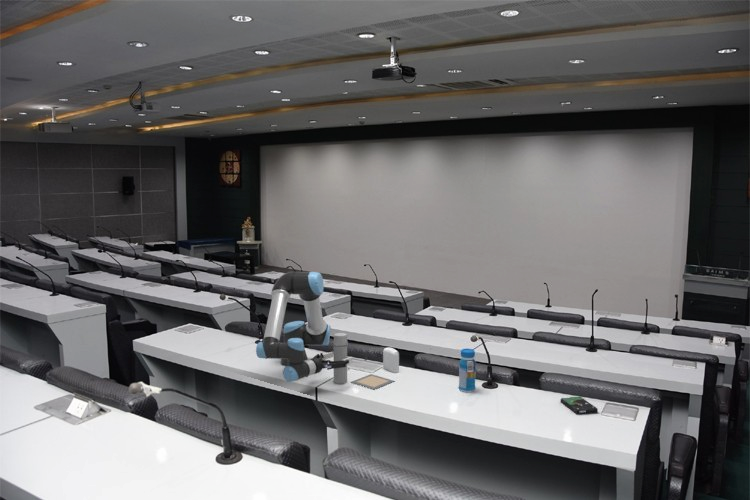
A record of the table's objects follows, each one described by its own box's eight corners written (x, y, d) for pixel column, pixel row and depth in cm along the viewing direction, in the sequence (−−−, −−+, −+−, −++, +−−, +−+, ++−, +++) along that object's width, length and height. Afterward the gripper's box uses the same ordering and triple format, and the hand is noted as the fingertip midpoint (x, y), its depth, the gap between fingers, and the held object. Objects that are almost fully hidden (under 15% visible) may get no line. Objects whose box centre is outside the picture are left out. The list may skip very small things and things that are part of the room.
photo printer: (381, 368, 304) (382, 346, 302) (387, 367, 307) (387, 345, 305) (394, 373, 296) (394, 351, 295) (400, 371, 299) (400, 349, 297)
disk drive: (598, 414, 244) (580, 401, 258) (598, 408, 244) (580, 395, 258) (576, 416, 242) (559, 403, 257) (576, 410, 242) (559, 397, 256)
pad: (350, 382, 281) (350, 381, 281) (371, 374, 293) (371, 373, 293) (374, 390, 271) (374, 389, 271) (394, 381, 283) (394, 380, 283)
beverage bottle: (455, 390, 270) (456, 351, 268) (461, 385, 278) (462, 346, 276) (472, 393, 267) (473, 353, 264) (477, 388, 274) (478, 349, 272)
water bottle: (346, 385, 278) (345, 336, 275) (331, 383, 279) (330, 335, 277) (350, 379, 287) (350, 332, 284) (335, 377, 288) (335, 331, 286)
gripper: (294, 368, 275) (325, 359, 291) (329, 380, 258) (360, 369, 274) (294, 354, 274) (325, 345, 290) (329, 364, 258) (360, 354, 273)
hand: (342, 356), depth 282 cm, fingers open, 13 cm apart
